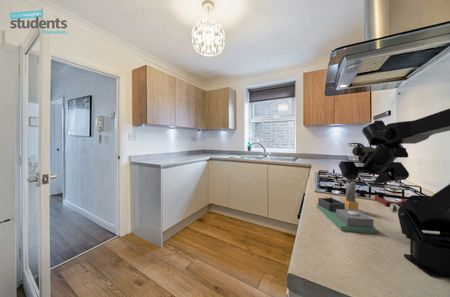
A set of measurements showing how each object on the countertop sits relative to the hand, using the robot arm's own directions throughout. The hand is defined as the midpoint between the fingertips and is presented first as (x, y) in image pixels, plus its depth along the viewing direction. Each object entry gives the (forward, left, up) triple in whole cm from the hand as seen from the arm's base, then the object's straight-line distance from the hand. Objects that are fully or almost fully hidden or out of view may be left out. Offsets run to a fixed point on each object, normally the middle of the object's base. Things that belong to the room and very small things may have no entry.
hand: (361, 182), depth 64 cm
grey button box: (-8, +7, -12) cm, 16 cm away
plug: (+7, 0, -13) cm, 15 cm away
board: (-2, +8, -13) cm, 16 cm away
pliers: (+17, -21, -14) cm, 31 cm away
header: (+4, +9, -12) cm, 15 cm away
